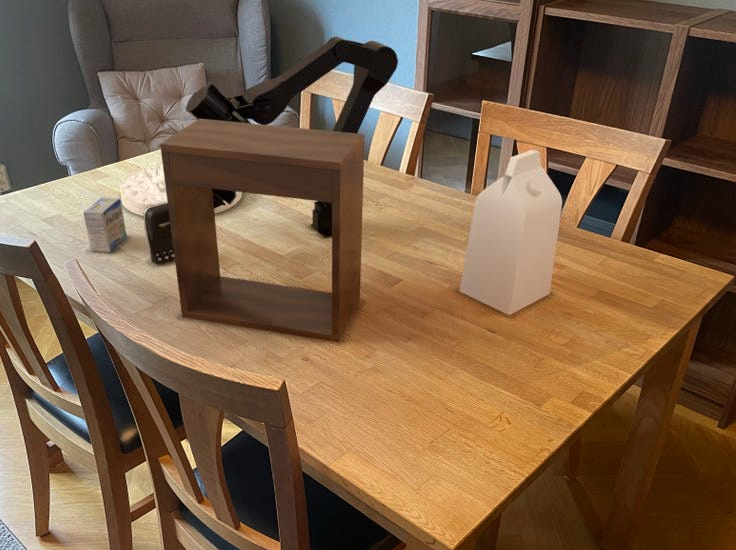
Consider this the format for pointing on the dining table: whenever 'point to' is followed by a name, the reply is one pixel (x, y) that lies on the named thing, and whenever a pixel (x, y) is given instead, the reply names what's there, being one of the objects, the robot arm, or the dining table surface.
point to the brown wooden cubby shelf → (275, 178)
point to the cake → (151, 190)
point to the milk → (513, 237)
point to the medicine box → (105, 224)
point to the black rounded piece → (159, 233)
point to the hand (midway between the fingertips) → (178, 210)
